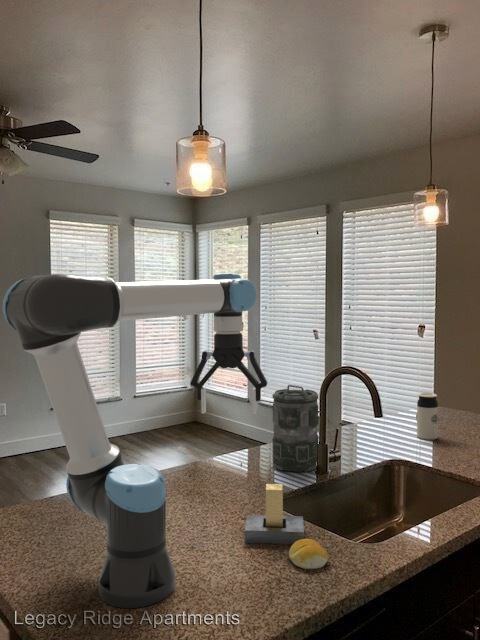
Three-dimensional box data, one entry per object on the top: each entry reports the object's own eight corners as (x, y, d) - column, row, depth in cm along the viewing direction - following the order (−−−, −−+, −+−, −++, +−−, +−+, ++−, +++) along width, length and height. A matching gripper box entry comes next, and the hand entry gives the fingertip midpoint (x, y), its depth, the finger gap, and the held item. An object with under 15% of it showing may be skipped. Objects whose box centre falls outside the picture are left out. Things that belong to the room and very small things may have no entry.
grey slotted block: (304, 544, 125) (304, 532, 125) (244, 542, 126) (244, 530, 126) (302, 528, 134) (302, 516, 134) (247, 526, 135) (247, 514, 135)
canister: (263, 465, 184) (262, 385, 183) (294, 456, 195) (293, 380, 194) (296, 476, 172) (296, 391, 171) (328, 466, 183) (327, 385, 182)
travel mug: (413, 436, 222) (413, 393, 221) (429, 434, 224) (429, 392, 224) (425, 440, 215) (425, 396, 214) (441, 439, 217) (442, 395, 216)
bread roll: (317, 548, 123) (317, 531, 123) (332, 567, 114) (332, 549, 114) (283, 552, 121) (283, 535, 121) (296, 572, 113) (295, 553, 112)
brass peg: (282, 539, 128) (282, 490, 127) (266, 538, 128) (265, 489, 127) (282, 532, 132) (282, 484, 131) (266, 531, 132) (266, 483, 131)
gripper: (276, 331, 141) (277, 410, 142) (185, 331, 144) (186, 409, 145) (274, 333, 134) (275, 416, 135) (178, 333, 137) (179, 415, 138)
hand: (229, 413), depth 140 cm, fingers open, 13 cm apart
